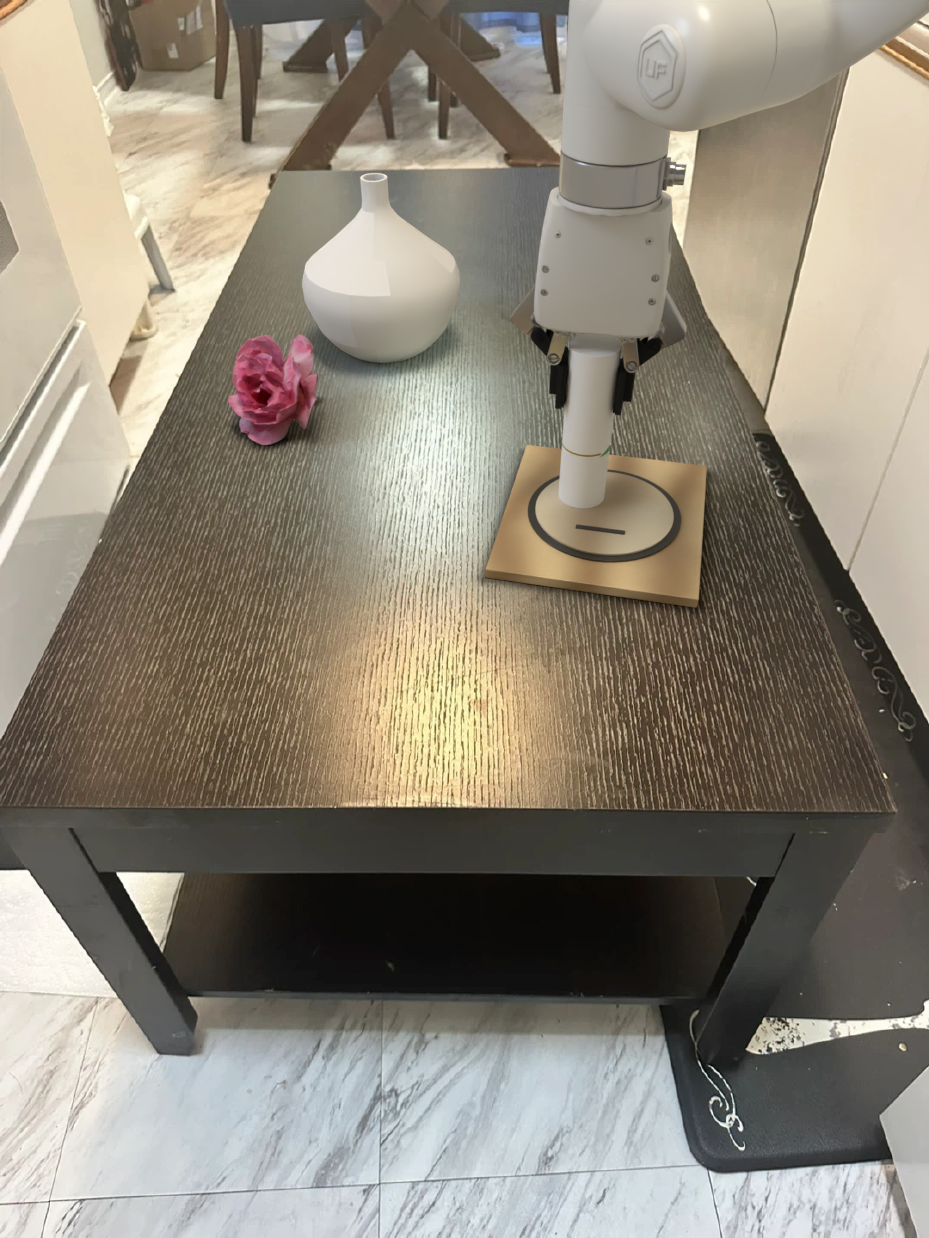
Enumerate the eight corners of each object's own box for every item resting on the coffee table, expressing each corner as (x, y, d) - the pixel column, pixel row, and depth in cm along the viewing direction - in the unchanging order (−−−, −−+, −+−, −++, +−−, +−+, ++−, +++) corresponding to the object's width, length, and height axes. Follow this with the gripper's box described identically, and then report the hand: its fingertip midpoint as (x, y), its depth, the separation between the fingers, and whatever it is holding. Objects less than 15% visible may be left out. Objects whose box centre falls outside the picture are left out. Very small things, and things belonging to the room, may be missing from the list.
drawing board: (705, 474, 88) (708, 461, 87) (696, 608, 74) (699, 595, 73) (526, 452, 91) (526, 440, 90) (485, 577, 77) (485, 564, 76)
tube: (574, 513, 81) (588, 361, 71) (549, 489, 84) (559, 339, 73) (613, 500, 82) (632, 349, 72) (588, 477, 85) (602, 328, 75)
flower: (275, 479, 93) (202, 414, 87) (272, 436, 101) (205, 373, 95) (356, 412, 91) (287, 339, 85) (347, 373, 98) (283, 304, 92)
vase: (491, 346, 108) (494, 178, 95) (371, 398, 99) (355, 221, 86) (398, 299, 118) (388, 141, 105) (281, 342, 109) (254, 176, 96)
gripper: (731, 168, 65) (691, 393, 78) (506, 156, 68) (502, 374, 81) (730, 203, 60) (686, 438, 72) (486, 188, 63) (485, 416, 75)
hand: (589, 402), depth 76 cm, fingers closed on tube, 4 cm apart
